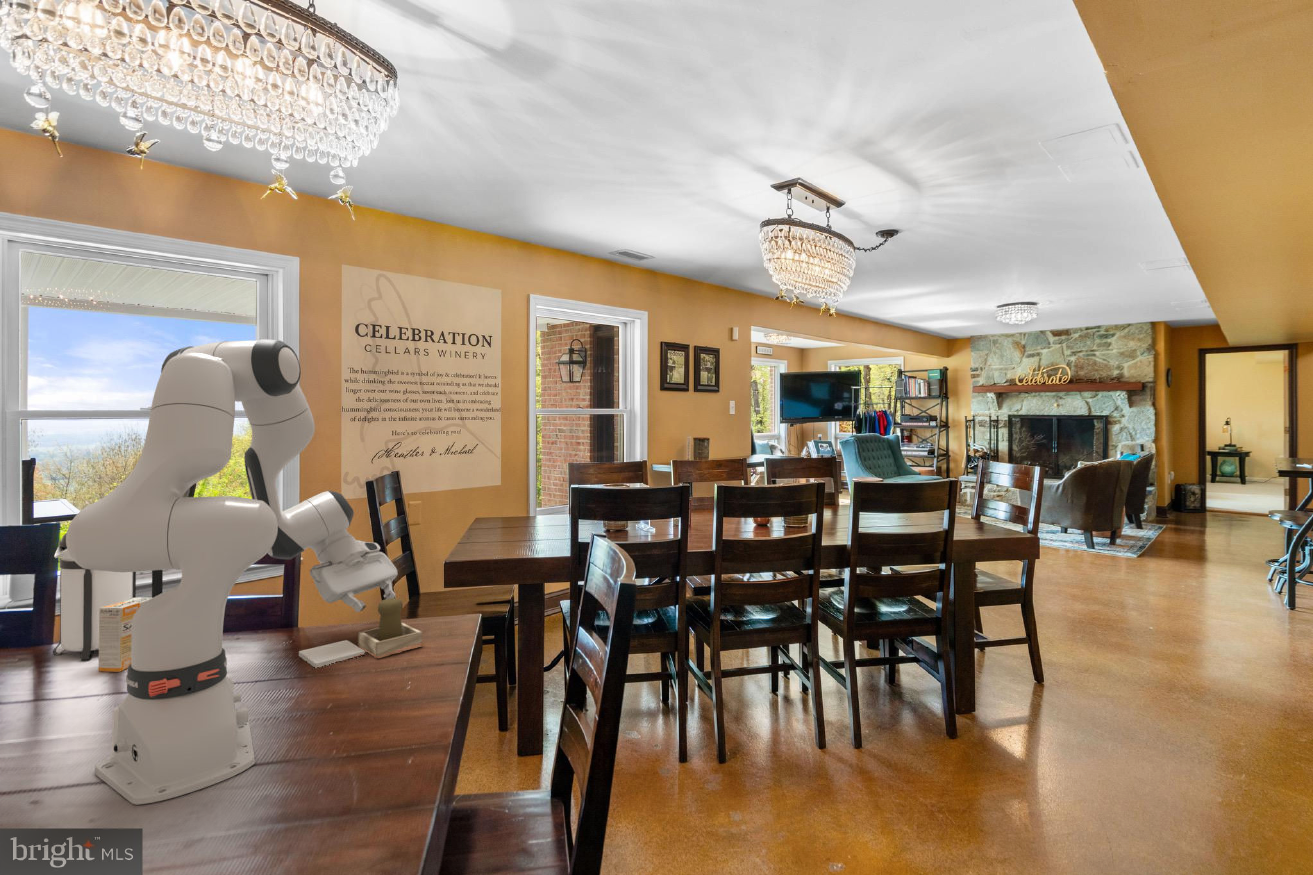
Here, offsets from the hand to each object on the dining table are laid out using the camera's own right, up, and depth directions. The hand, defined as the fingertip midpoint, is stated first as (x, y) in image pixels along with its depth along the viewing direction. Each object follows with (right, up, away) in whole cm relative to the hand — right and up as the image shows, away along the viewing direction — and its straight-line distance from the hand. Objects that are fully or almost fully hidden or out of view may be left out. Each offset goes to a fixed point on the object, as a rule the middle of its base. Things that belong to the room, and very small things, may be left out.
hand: (377, 603), depth 139 cm
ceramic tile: (-7, -10, -7) cm, 14 cm away
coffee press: (-60, -9, -4) cm, 60 cm away
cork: (+3, -10, -1) cm, 10 cm away
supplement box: (-46, -9, -13) cm, 49 cm away
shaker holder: (+3, -10, -1) cm, 10 cm away
